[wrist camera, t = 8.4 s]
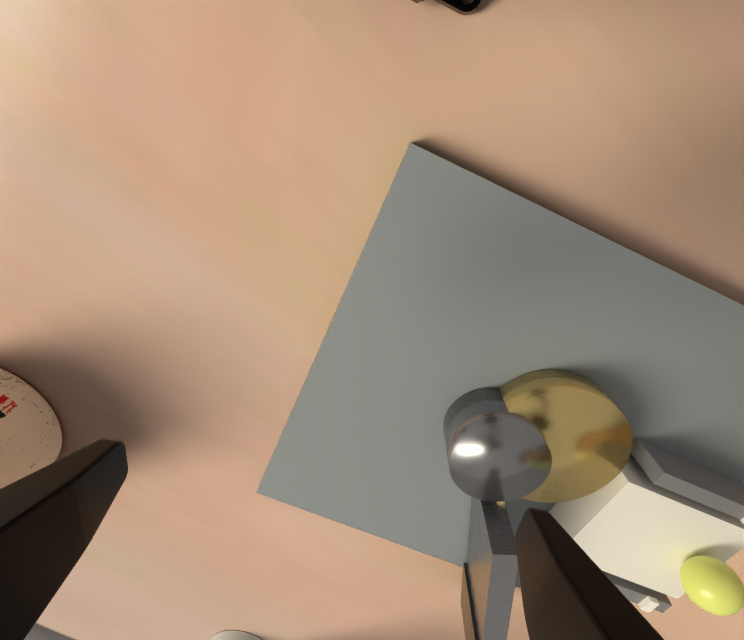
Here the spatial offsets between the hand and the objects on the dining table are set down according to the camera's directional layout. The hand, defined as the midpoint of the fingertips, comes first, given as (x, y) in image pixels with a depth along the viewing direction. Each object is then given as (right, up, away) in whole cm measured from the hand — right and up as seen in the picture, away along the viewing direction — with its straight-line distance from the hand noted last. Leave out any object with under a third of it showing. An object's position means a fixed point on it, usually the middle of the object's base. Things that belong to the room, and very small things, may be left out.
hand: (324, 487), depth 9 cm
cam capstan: (+10, -7, +15) cm, 20 cm away
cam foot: (+16, -7, +15) cm, 23 cm away
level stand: (+10, -3, +14) cm, 18 cm away
